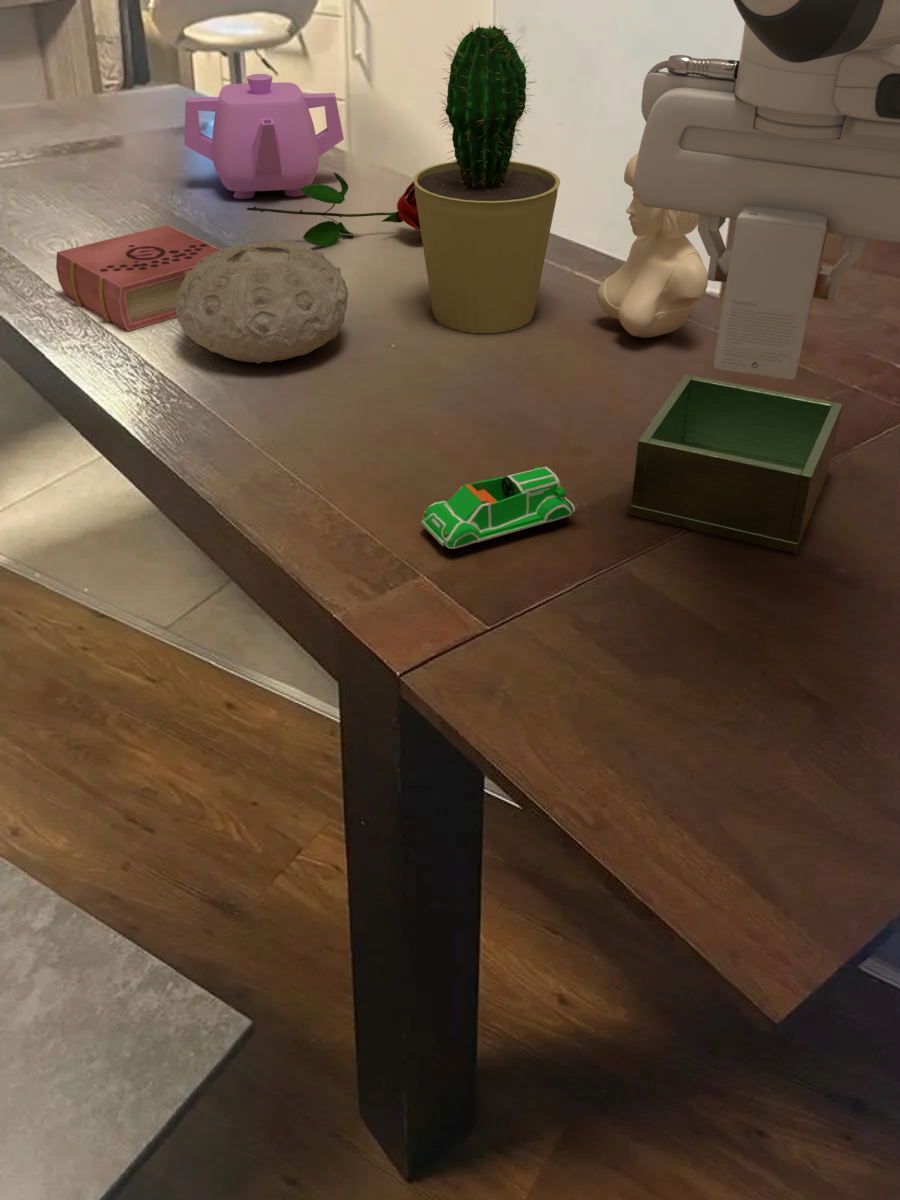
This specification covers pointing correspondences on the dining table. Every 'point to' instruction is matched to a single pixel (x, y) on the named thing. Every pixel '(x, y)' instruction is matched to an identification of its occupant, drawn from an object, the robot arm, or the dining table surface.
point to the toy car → (498, 508)
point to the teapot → (263, 135)
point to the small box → (769, 291)
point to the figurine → (655, 270)
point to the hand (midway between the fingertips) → (772, 288)
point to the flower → (331, 231)
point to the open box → (735, 461)
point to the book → (131, 274)
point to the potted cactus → (485, 196)
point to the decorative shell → (262, 301)
